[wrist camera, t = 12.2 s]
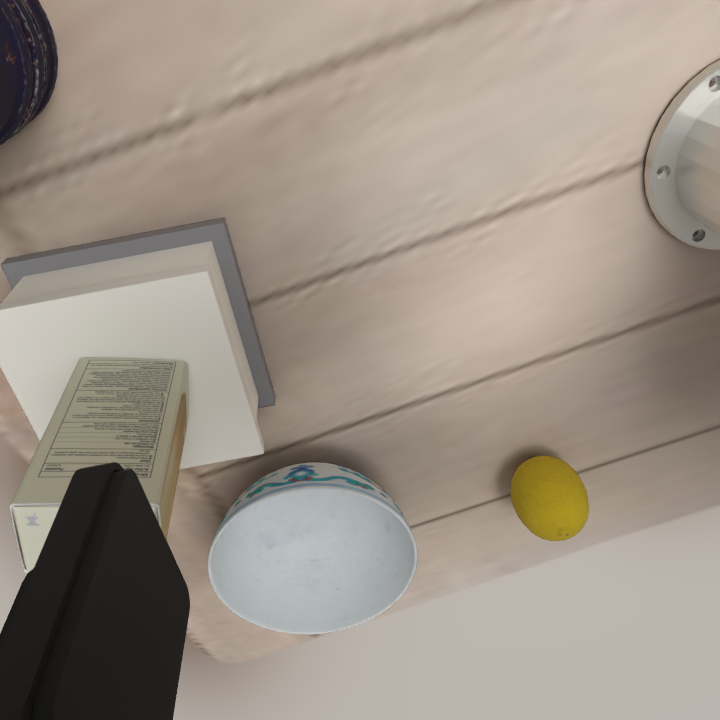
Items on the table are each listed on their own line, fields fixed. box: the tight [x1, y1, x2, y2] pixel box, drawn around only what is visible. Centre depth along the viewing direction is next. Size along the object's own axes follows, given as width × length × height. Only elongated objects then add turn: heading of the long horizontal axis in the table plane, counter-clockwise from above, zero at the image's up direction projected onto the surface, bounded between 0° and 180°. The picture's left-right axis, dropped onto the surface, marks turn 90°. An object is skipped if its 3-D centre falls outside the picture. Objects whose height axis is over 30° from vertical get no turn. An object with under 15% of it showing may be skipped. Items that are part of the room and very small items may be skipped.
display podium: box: [0, 217, 275, 469], centre depth 43 cm, size 14×14×7 cm
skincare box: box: [10, 358, 189, 573], centre depth 34 cm, size 6×4×12 cm
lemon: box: [511, 456, 589, 541], centre depth 51 cm, size 6×6×8 cm
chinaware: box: [208, 462, 417, 634], centre depth 51 cm, size 15×15×8 cm
